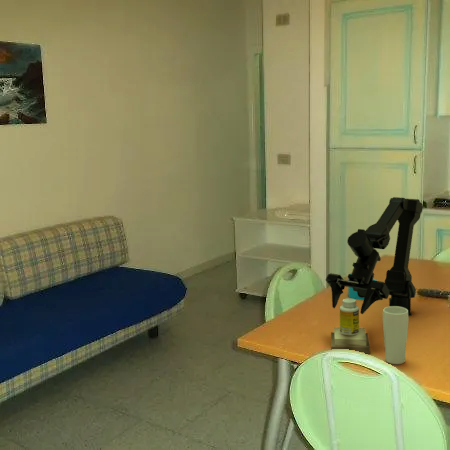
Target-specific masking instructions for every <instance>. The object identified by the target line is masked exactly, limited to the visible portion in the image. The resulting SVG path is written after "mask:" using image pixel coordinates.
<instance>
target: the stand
mask: <svg viewBox="0 0 450 450" xmlns="http://www.w3.org/2000/svg"><path fill="white" fill-rule="evenodd" d="M330 338H331V339H330V342H331V343H330V348H331V349H349V350H355V351H359V352H364V353H368V354H367V355H371V346H370V345H371V344H370V338H369V333H368V332H366V329H365V328H364V327H359V333H358V334H357V335H353V336H347V335H343V334H342V333H341V332H340V327H334V331H332V332H330Z"/></svg>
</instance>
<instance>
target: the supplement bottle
mask: <svg viewBox="0 0 450 450" xmlns="http://www.w3.org/2000/svg"><path fill="white" fill-rule="evenodd" d="M339 328H340V332H341V333H342V334H343V335H347V336H353V335H357V334H358V333H359V328H360V307H359V306H358V305H357V300H356V299H352V298H348V297H345V298H344V299H342V305H340V307H339Z"/></svg>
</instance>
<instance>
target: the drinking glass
mask: <svg viewBox="0 0 450 450" xmlns="http://www.w3.org/2000/svg"><path fill="white" fill-rule="evenodd" d="M382 329H383V333H382V334H383V341H384V342H383V344H384V356H385V357H384V358H385V361H386V362H387V363H388V364H391V365H401V364H404V363H405V361H406V351H407V350H406V349H407V339H408V330H409V315H408V310H407V309H406V308H403V307H399V306H389V305H388V306H385V307H384V308H383V310H382Z"/></svg>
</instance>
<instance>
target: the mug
mask: <svg viewBox="0 0 450 450" xmlns="http://www.w3.org/2000/svg"><path fill="white" fill-rule="evenodd" d="M347 278H348V277H347ZM347 280H349V278H348V279H347ZM373 280H375V281H378V280H377V279H375V278H373ZM347 288H348V289H347V290H348V292H347V293H348V294H347V295H348V297H349V298H352V299H355V300H356V301H357V300H358V301H359V300H360V301H362V300H363V301H364V298H361V297H359V296H358V294H357V292H356V291H353V288H352V287H347Z"/></svg>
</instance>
